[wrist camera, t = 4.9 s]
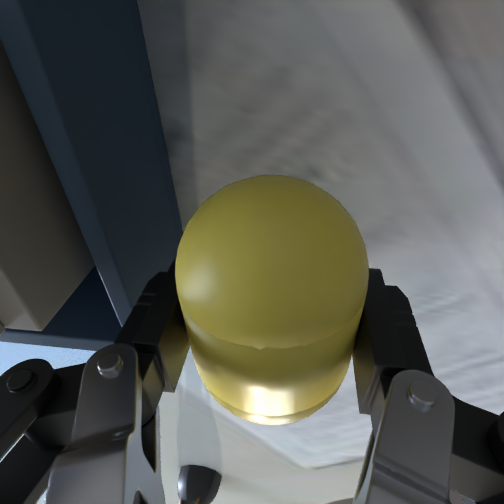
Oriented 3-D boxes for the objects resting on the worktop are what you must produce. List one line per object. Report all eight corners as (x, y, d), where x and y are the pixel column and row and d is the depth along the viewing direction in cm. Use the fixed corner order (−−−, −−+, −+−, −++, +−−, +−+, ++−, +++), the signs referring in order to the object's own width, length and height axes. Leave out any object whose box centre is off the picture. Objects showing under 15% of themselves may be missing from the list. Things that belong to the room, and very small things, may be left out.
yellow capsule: (171, 150, 10) (130, 265, 5) (348, 139, 10) (437, 244, 6) (206, 330, 15) (199, 461, 11) (322, 322, 15) (359, 447, 11)
